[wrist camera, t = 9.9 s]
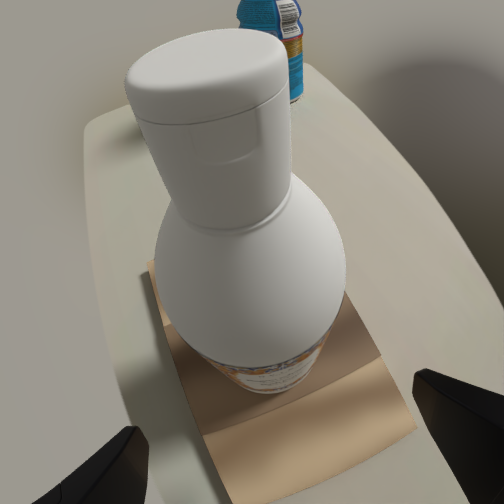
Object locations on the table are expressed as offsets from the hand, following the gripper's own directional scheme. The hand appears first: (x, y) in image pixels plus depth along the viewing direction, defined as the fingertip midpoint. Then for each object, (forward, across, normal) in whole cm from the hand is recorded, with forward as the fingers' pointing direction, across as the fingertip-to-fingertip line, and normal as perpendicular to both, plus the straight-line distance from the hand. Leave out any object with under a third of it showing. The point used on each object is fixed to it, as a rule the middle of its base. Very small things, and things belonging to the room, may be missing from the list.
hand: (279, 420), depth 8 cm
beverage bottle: (+38, -8, -19) cm, 44 cm away
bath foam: (+13, 0, +5) cm, 14 cm away
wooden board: (+14, 0, +6) cm, 15 cm away
